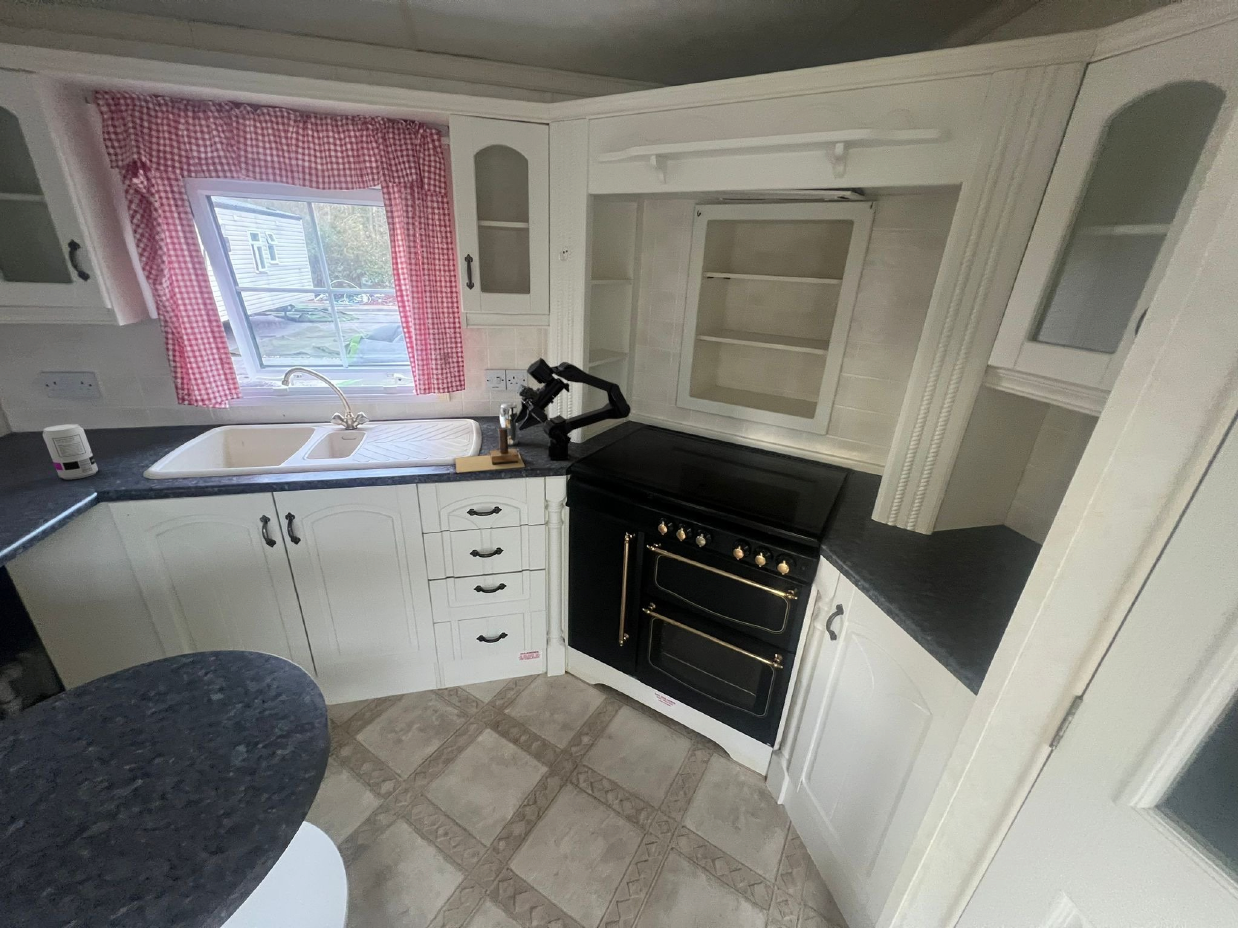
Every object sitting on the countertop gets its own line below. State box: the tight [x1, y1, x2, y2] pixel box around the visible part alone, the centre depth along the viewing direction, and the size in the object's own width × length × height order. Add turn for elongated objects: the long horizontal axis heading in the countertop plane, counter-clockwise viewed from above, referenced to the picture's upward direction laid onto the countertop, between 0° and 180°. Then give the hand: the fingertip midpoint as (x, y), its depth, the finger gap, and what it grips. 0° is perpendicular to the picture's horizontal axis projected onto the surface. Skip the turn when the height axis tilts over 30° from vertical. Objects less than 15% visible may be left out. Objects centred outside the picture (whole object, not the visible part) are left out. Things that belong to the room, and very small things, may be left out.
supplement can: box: [42, 423, 99, 480], centre depth 146 cm, size 8×8×15 cm
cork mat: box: [454, 452, 526, 474], centre depth 169 cm, size 22×14×1 cm, turn 109°
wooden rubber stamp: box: [489, 426, 520, 465], centre depth 169 cm, size 9×6×12 cm, turn 109°
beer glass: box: [498, 402, 519, 447], centre depth 187 cm, size 7×7×15 cm
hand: (517, 426), depth 168 cm, fingers open, 9 cm apart
